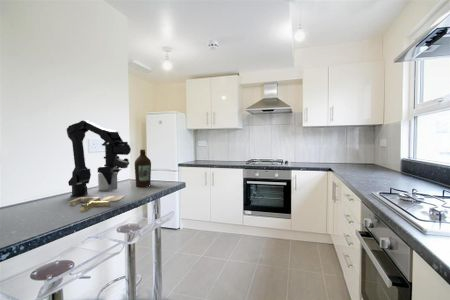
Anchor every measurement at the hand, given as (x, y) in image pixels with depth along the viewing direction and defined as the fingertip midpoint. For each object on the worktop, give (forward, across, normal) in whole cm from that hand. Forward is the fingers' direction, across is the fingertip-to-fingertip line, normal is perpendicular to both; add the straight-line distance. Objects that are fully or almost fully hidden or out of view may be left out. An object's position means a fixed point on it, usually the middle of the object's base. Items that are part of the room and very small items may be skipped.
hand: (112, 183), depth 118 cm
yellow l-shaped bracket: (+8, -16, +1) cm, 18 cm away
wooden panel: (+8, 0, 0) cm, 8 cm away
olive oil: (+9, +32, -7) cm, 34 cm away
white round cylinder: (+3, 0, 0) cm, 3 cm away
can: (+9, +24, +14) cm, 29 cm away
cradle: (+8, -7, +10) cm, 15 cm away
